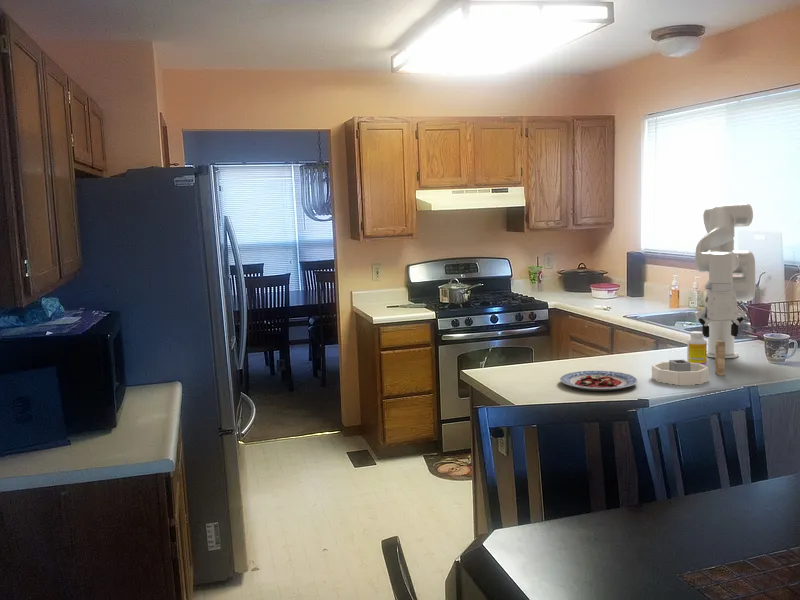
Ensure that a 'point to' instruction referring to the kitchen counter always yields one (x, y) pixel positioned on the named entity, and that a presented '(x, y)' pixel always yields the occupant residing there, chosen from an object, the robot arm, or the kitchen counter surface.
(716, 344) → the wooden block
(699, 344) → the supplement bottle
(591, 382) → the ceramic plate
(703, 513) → the kitchen counter surface
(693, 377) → the shallow round tray
